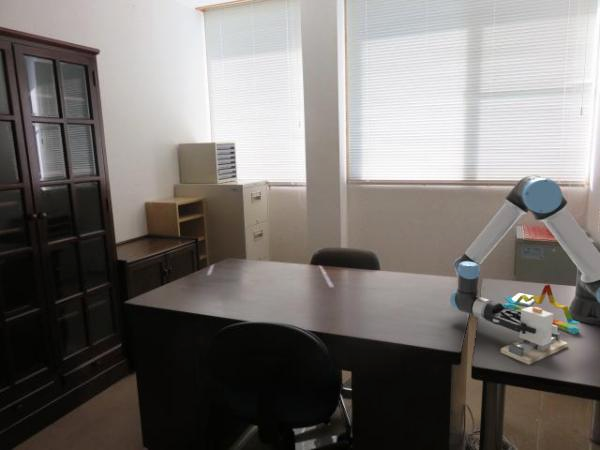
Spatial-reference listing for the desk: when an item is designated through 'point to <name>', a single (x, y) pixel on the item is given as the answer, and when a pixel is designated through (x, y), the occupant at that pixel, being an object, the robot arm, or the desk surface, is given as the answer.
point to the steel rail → (529, 346)
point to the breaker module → (540, 320)
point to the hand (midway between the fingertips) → (551, 332)
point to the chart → (547, 289)
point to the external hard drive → (523, 299)
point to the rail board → (535, 352)
